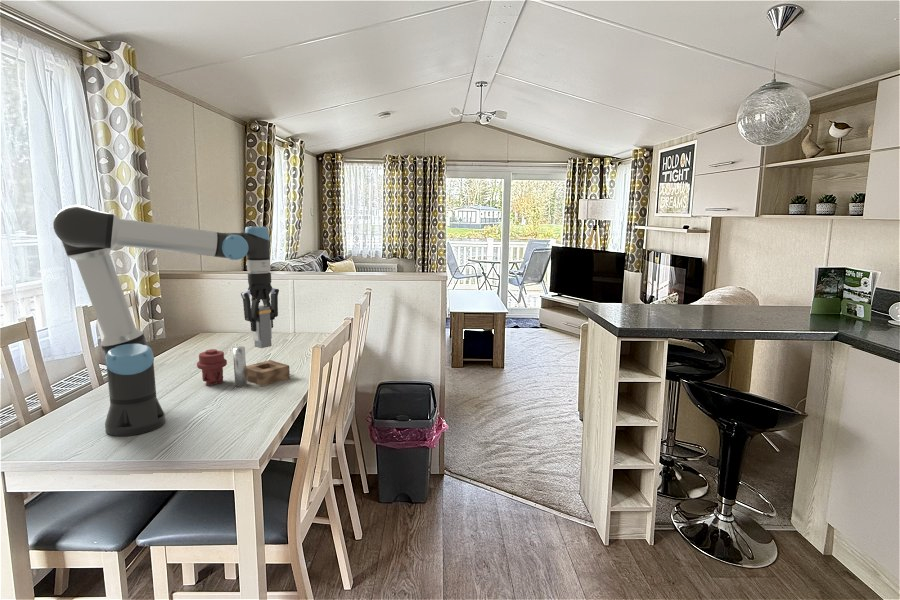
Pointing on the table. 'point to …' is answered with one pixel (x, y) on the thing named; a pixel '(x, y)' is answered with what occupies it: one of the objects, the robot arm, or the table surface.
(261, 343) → the square bit
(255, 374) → the socket block
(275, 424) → the table surface
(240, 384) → the silver metal bar
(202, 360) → the mechanical component
